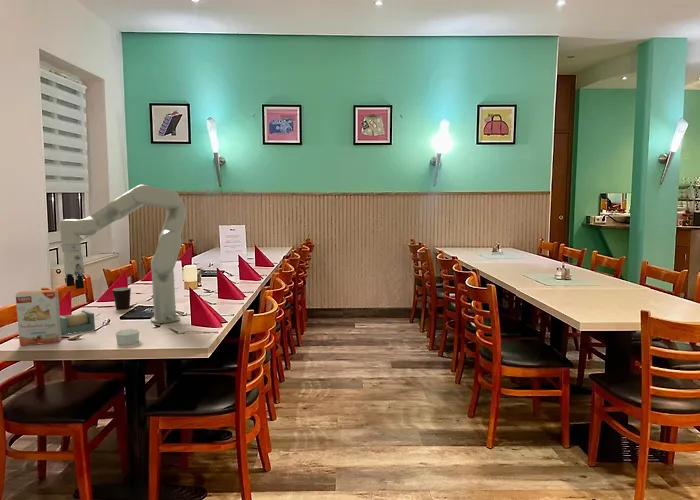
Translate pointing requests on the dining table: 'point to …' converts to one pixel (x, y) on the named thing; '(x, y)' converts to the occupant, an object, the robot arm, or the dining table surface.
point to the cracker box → (38, 316)
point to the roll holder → (78, 328)
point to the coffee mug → (122, 298)
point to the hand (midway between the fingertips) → (75, 287)
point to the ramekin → (127, 336)
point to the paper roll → (76, 319)
